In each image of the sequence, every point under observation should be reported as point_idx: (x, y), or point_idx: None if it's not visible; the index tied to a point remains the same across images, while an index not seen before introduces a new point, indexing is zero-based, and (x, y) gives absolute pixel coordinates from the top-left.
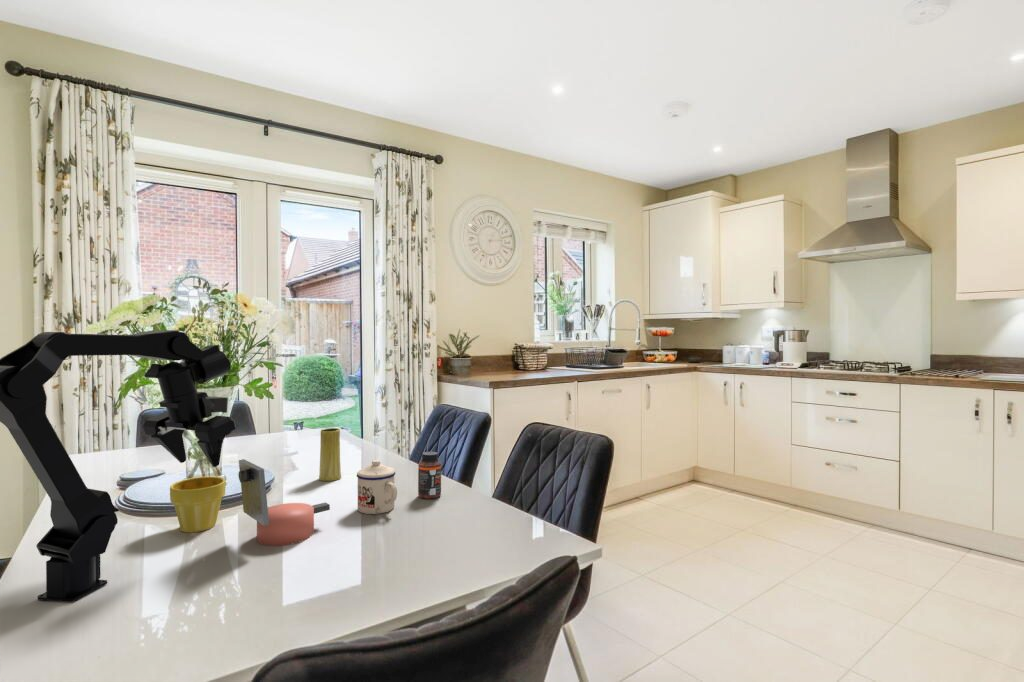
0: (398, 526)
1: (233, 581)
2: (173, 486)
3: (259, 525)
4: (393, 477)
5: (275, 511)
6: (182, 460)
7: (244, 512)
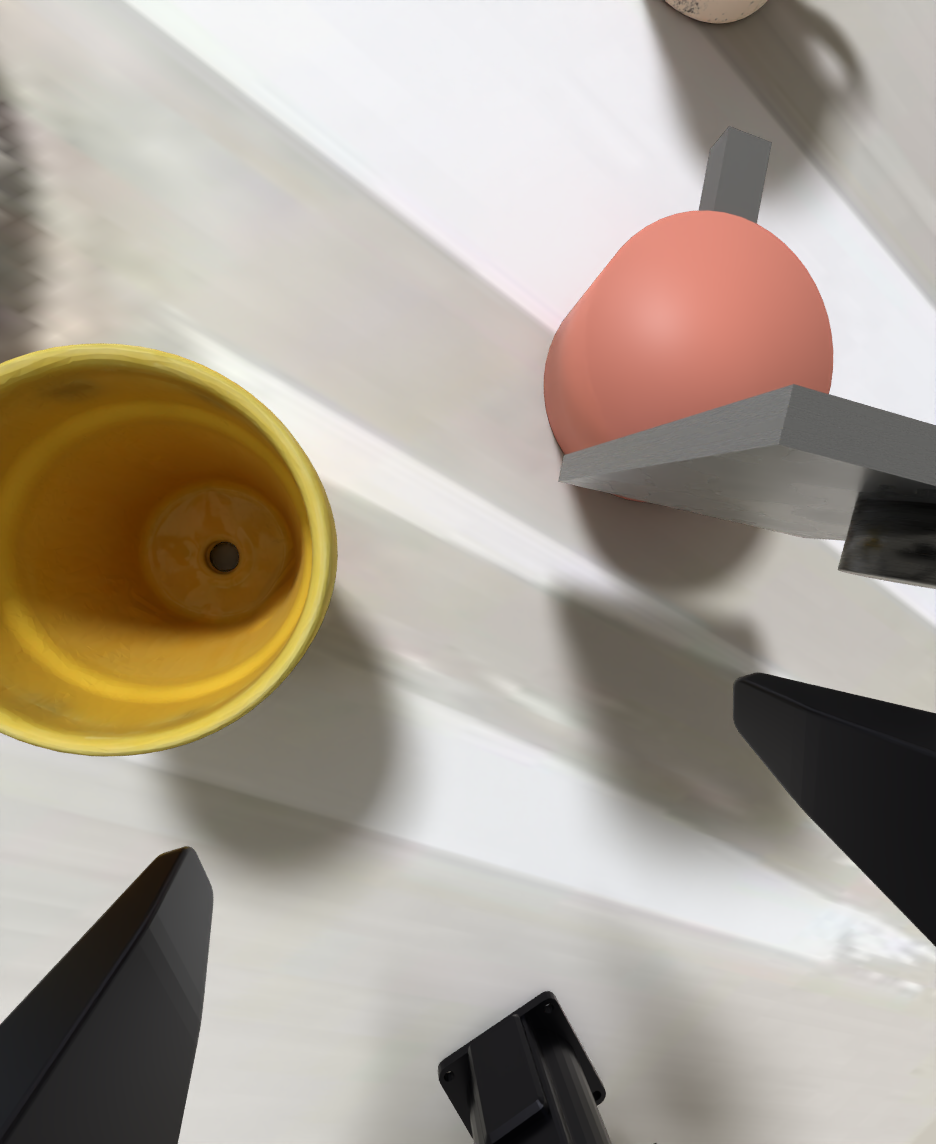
0: (919, 89)
1: None
2: (4, 706)
3: None
4: None
5: (675, 380)
6: (204, 908)
7: (569, 483)
